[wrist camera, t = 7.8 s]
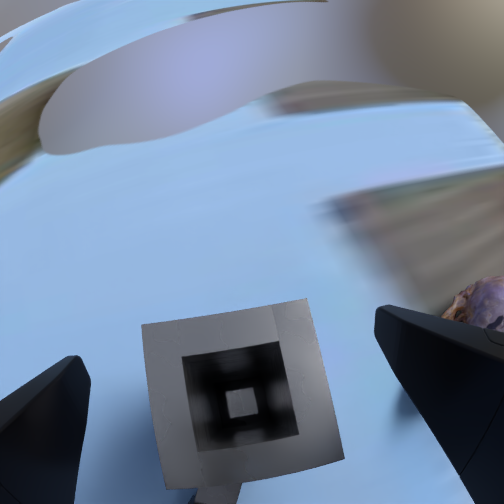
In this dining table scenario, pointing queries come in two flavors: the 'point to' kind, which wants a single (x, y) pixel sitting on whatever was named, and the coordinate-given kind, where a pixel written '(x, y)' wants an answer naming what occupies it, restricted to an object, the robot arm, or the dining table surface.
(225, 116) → the dining table surface
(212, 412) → the socket
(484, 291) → the skull
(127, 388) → the dining table surface
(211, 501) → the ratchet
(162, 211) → the dining table surface
